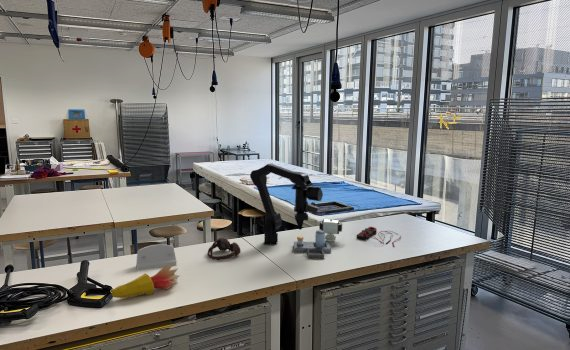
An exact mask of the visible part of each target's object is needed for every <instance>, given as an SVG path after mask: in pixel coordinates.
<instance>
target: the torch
mask: <svg viewBox="0 0 570 350" xmlns="http://www.w3.org/2000/svg"><path fill="white" fill-rule="evenodd" d="M174 263H175V262H174ZM174 263H171V264H168V265H166V266H164V267H162V268H160V270H159V271H157V273H156V274H154V275H152V276H150V275H149V274H147V273H144V274H142V275H140V276H138V277H137V278H135V279H133V280H131V281H129V282H127V283H123V284H122V285H119V286H117V287H115V288H113V289H112V290H111V296H112V297H113V298H116V299H117V298H118V299H122V298H124V299H125V298H131V297H132V298H133V297H137V296H140V295H141V296H143V295H145V296H147V295H153V294H154V291H155V290H167V289H169V288H172V287H174V286H177V285H178V281H177V280H178V279H179V277H181V275H179V274H176V272H178V270H179V267H176V268H173V269H171V268H172V267H174V266H173V264H174Z"/></svg>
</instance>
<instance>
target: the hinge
mask: <svg viewBox="0 0 570 350" xmlns="http://www.w3.org/2000/svg"><path fill="white" fill-rule="evenodd" d="M136 254H137V255H136V265H135V268H136V269H137V272H139V271H145V270H152V269H153V270H154V269H162V268H163V267H164V266H166V265H168V264H171V263H174V262H175V263H174V264H173V266H172V267H174V266H175V267H177V262H178V261H177V257H176V251H175V247H174V246H172V245H169V244H163V243H162V244H152V245H147V246H145V247H142V248H140V249H138V250H137V253H136Z"/></svg>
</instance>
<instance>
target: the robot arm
mask: <svg viewBox="0 0 570 350" xmlns="http://www.w3.org/2000/svg"><path fill="white" fill-rule="evenodd" d="M270 174H274V175H276V176H280V177H281V178H284V179H287V180H289V181H290V182H291V183H293V184H294V185H293V186H292V187H291V190H295V195H294V197H295V199H294V207H293V212H294V220H295V222H296V224H297V227H298V230H299V231H300V230H302V229H303V225H304V221H308V220H309V214H308V212H309V213H312V214H313V215H317V213H318V211H319V207H318V205H316V202H321V201H322V200H323V195H324V193H323V190H322V187H321V186H314V184H313V182H312V181H311V180H310V176H309V174H308V173H307V172H303V171H302V172H301V171H294V170H290V169H287V168H285V167H283V166H282V167H281V166H279V165H276V164H274V163H267V164H265V165H264V166H262V167H260V168H259V169H255V170H252V171H251V172H250V174H249V177H250V180H251V182H252V184H253V185H254V186H255V188H256V189H257V191H258V194H259V197H260V200H261V203H262V206H263V209H264V213H265V219H264V221H265V224H264V226H263V227H261V232H262V233H263V234H264V235H263V236H264V240H263V241H264V242H263V244H264V245H277V244H278V242H279V241H278V240H279V239H278V238H279V236H278V231H279V229H280V227H282V224H283V219H282V217H281V213H280V212H279V213H278V212H277V211H276V210H275V208H274V207H275V206H274V203H273V202H272V198H271V195H270V192H269V189H268V185H267V183H268V182H267V181H268V177H267V176H268V175H270ZM308 200H309V201H312V202H311V203H308ZM313 201H315V202H313Z"/></svg>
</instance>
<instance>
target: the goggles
mask: <svg viewBox="0 0 570 350" xmlns="http://www.w3.org/2000/svg"><path fill="white" fill-rule="evenodd" d="M216 248H218V250H220V251H221V250H224V251H223V252H225V251H229V252H230V253H228V254H225V255H217V256H215V255H213V250H214V249H216ZM240 254H241V247H240V245H239V244H238V243H237V242H230V241H229V240H228V239H227V238H224V237H219V238H217V239H216V240H215V241H213V243H212V244H211V246H210V247H209V248H208V250H207V256H208V257H210V258H209V259H211V258H212V260H214V259H216V260H215V261H223V260H228V259H230V258H234V257H235V256H236V257H237V256H238V255H240Z"/></svg>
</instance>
